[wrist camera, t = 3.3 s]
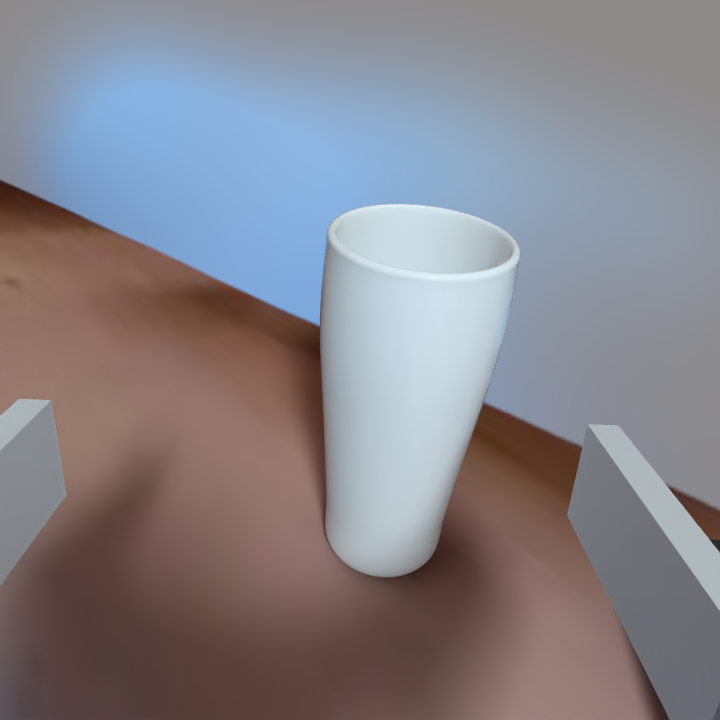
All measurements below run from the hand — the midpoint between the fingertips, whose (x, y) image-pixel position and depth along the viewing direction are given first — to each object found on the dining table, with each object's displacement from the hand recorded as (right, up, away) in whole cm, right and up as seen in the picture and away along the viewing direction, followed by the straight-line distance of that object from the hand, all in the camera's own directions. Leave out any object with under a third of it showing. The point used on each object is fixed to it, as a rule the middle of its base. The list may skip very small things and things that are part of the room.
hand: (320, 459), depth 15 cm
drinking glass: (+2, -6, +14) cm, 15 cm away
